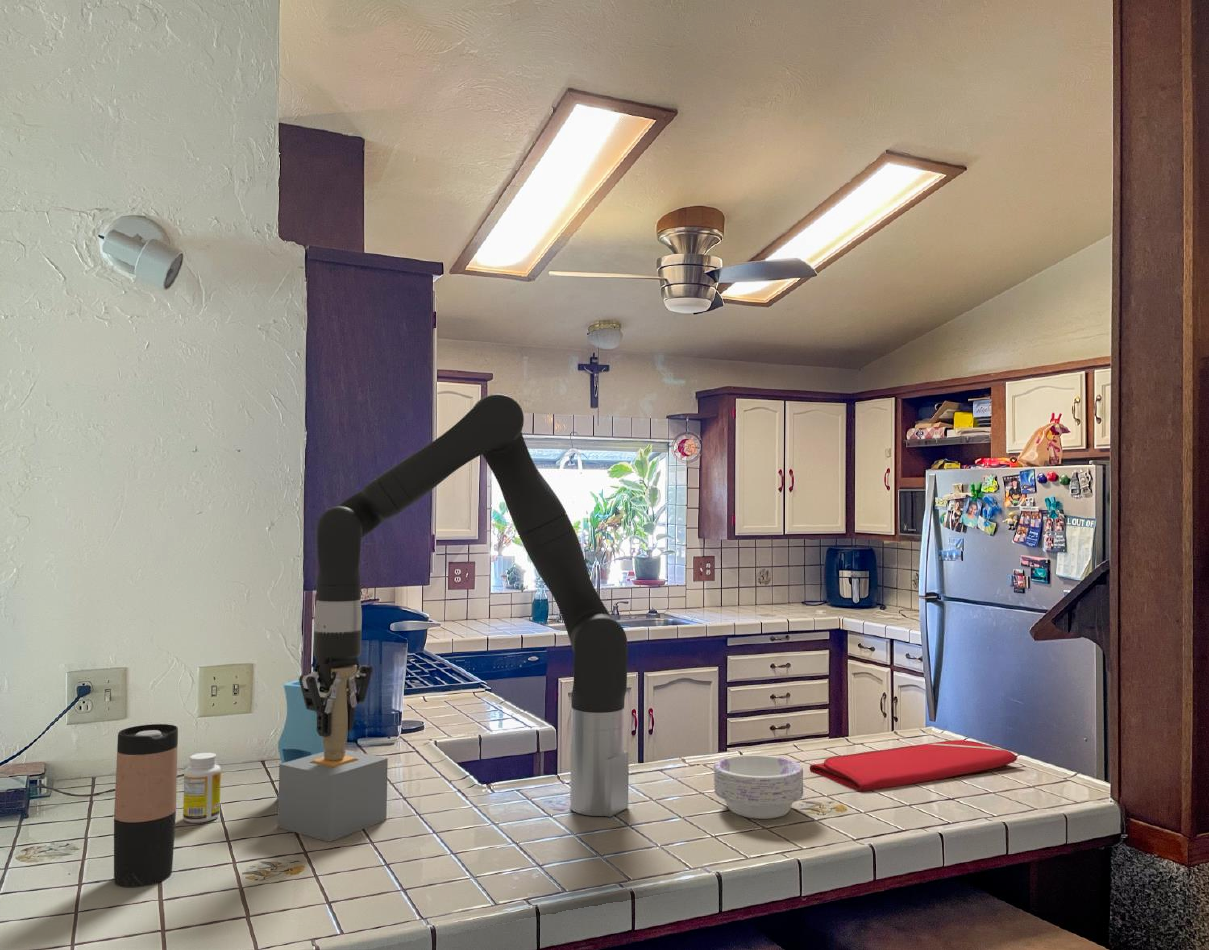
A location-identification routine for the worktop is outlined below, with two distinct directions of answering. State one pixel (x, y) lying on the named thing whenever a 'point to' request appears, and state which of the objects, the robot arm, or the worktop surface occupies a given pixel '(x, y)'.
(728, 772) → the paper bowls
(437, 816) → the worktop surface
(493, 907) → the worktop surface
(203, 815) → the supplement bottle
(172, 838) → the travel mug
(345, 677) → the handle
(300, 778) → the box
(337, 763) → the button
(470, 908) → the worktop surface
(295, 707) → the vase
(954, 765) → the dish drying mat
